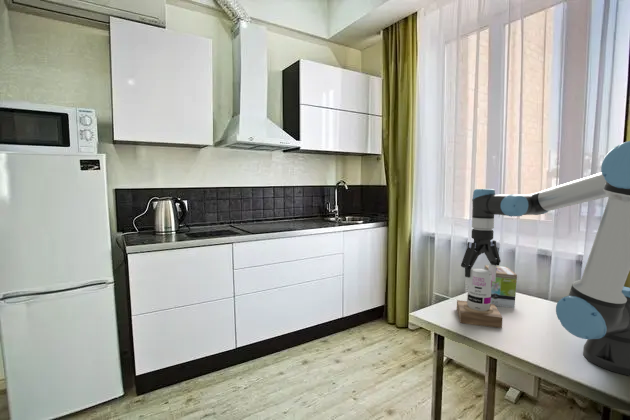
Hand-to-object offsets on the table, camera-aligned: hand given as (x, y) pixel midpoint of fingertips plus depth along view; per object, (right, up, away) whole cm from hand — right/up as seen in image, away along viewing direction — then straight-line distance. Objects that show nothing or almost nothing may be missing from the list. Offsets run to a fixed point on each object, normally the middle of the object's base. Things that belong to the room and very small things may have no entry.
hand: (480, 283), depth 127 cm
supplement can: (0, -10, +1) cm, 10 cm away
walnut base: (0, -14, +2) cm, 14 cm away
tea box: (+18, -13, +21) cm, 31 cm away
